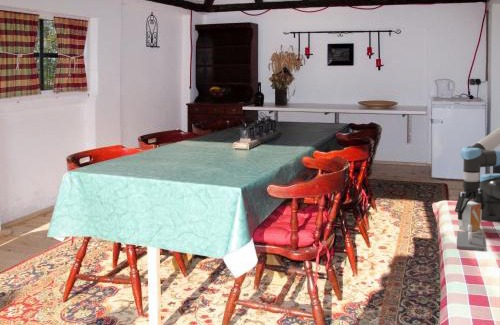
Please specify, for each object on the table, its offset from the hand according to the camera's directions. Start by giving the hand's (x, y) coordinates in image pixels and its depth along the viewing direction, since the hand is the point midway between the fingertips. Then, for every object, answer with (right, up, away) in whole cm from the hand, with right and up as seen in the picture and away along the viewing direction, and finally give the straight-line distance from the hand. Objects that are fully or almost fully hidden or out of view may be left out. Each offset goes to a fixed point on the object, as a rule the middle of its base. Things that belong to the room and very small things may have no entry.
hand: (469, 223), depth 268 cm
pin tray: (-7, -6, -18) cm, 20 cm away
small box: (0, -3, +1) cm, 3 cm away
